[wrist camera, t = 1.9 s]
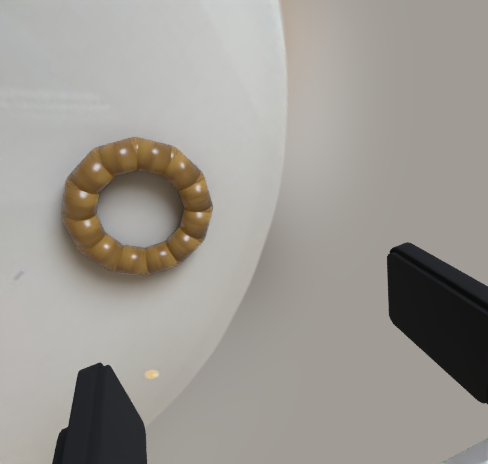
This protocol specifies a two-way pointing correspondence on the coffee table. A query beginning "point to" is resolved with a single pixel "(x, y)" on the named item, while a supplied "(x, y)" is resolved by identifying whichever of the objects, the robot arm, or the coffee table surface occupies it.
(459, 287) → the robot arm
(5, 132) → the coffee table surface
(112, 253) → the ring
